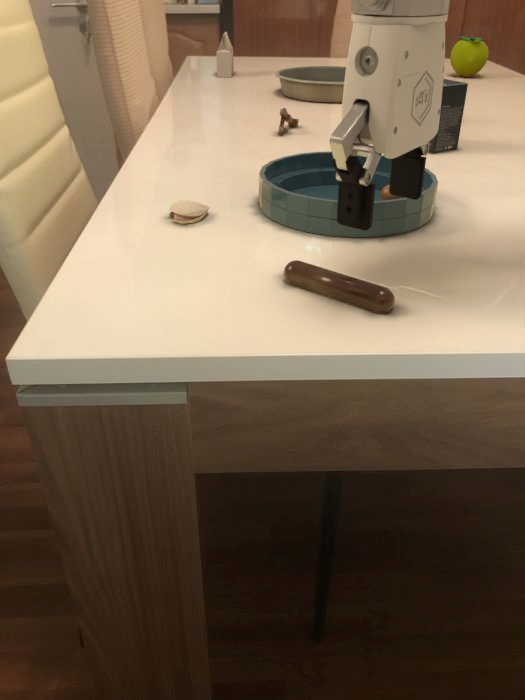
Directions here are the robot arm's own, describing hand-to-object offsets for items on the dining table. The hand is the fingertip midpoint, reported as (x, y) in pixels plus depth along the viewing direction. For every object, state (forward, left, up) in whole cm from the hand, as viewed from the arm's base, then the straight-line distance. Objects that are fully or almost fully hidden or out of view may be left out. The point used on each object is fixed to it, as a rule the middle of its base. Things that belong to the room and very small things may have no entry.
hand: (380, 210), depth 59 cm
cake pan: (+57, -81, -7) cm, 99 cm away
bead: (+9, -19, -6) cm, 22 cm away
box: (+18, -50, -7) cm, 54 cm away
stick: (+1, +5, -5) cm, 7 cm away
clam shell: (+25, 0, -7) cm, 26 cm away
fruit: (+43, -128, -7) cm, 136 cm away
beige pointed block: (+92, -86, -7) cm, 126 cm away
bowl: (+13, -15, -7) cm, 21 cm away
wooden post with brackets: (+42, -44, -7) cm, 61 cm away
